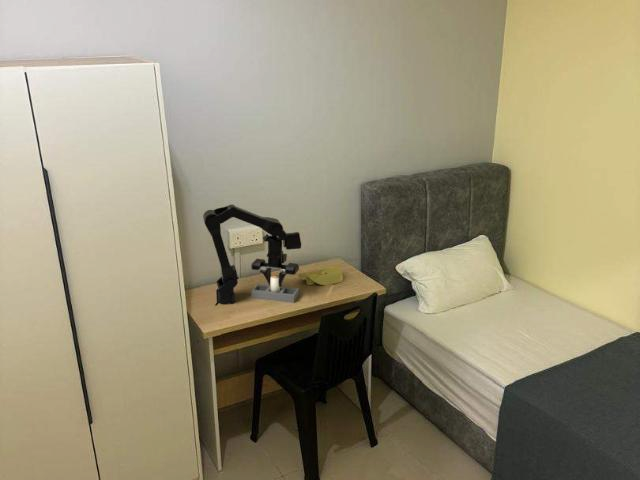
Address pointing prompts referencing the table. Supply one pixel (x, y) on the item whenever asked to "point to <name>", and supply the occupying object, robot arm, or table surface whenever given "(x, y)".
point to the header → (275, 293)
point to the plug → (274, 283)
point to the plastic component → (323, 276)
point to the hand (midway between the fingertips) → (275, 285)
